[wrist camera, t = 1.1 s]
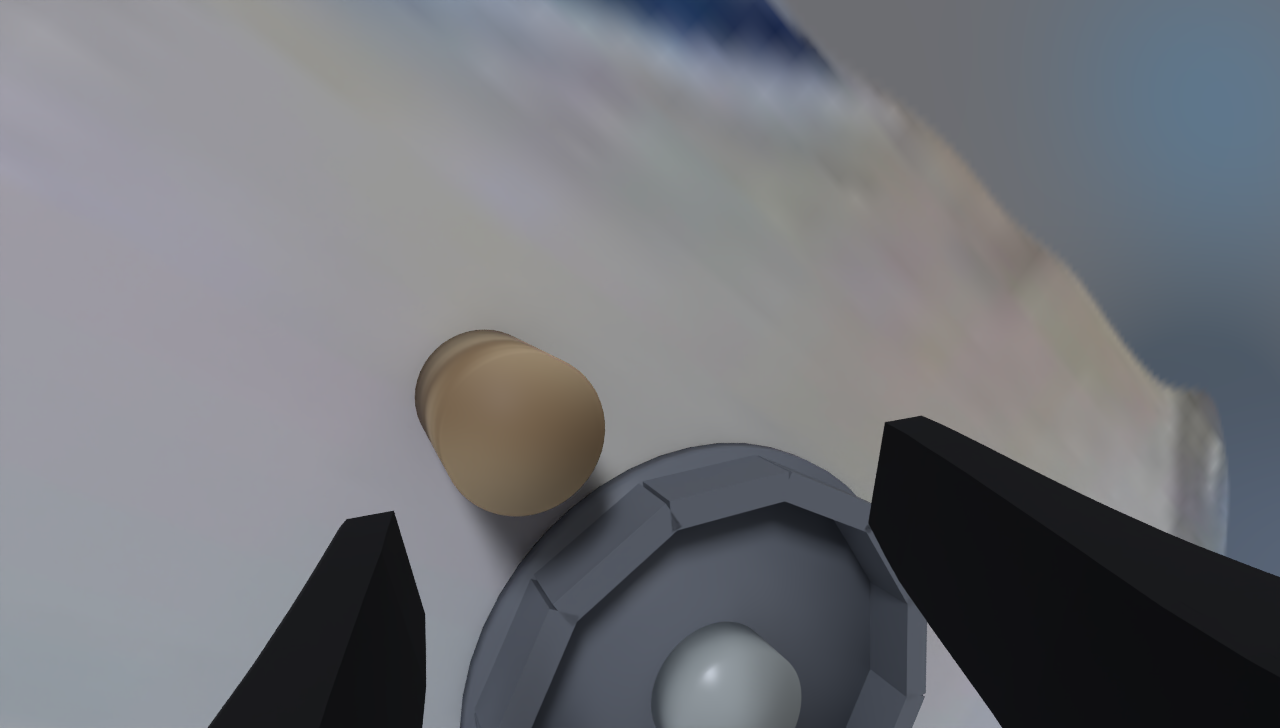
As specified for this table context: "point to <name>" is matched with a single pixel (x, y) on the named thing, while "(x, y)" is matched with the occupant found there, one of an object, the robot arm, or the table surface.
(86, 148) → the table surface
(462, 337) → the bead
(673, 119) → the table surface
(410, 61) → the table surface
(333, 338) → the table surface
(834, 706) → the ring tray
